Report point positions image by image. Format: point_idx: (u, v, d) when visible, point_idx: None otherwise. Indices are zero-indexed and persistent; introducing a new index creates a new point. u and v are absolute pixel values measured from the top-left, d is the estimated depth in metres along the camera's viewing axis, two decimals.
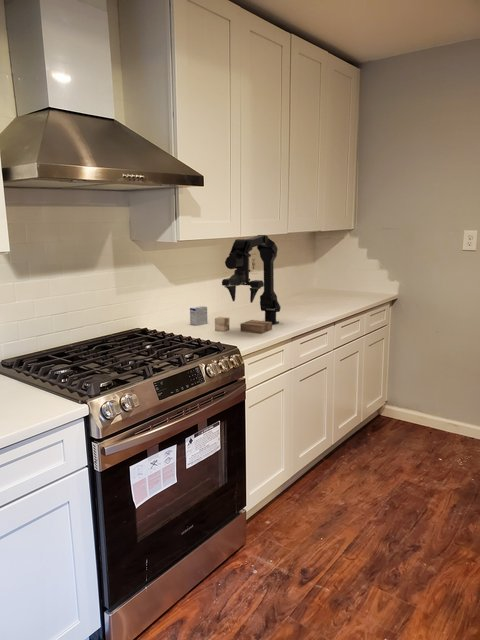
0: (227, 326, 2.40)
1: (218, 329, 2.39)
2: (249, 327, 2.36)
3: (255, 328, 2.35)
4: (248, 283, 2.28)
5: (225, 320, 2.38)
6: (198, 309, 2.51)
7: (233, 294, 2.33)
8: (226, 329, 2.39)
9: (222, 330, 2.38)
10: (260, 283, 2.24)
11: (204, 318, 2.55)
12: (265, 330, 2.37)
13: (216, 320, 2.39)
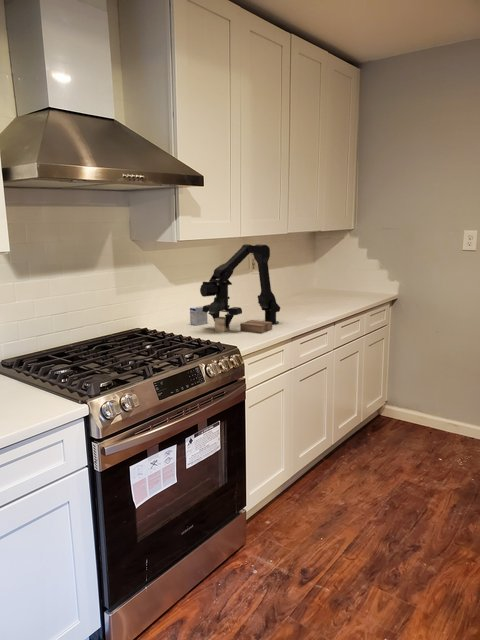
0: None
1: (218, 329, 2.39)
2: (249, 327, 2.36)
3: (255, 328, 2.35)
4: (227, 310, 2.37)
5: (225, 320, 2.38)
6: (198, 309, 2.51)
7: None
8: (226, 329, 2.39)
9: (222, 330, 2.38)
10: (238, 310, 2.34)
11: (204, 318, 2.55)
12: (265, 330, 2.37)
13: (216, 320, 2.39)
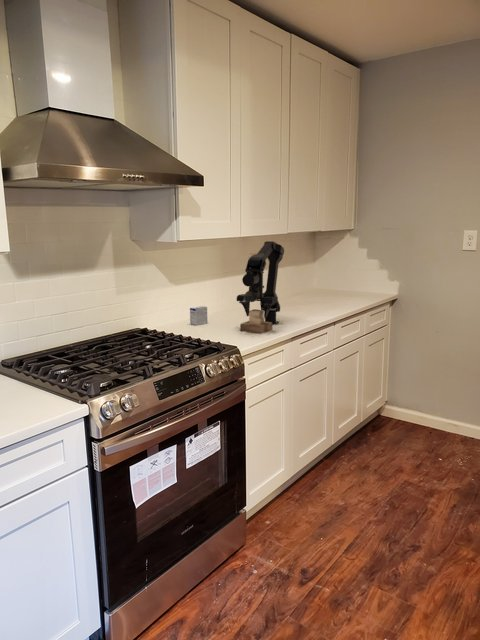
0: (261, 318, 2.39)
1: (253, 321, 2.38)
2: (249, 327, 2.36)
3: (255, 328, 2.35)
4: (262, 299, 2.36)
5: (260, 312, 2.37)
6: (198, 309, 2.51)
7: (247, 309, 2.41)
8: (260, 321, 2.39)
9: (257, 322, 2.37)
10: (273, 299, 2.33)
11: (204, 318, 2.55)
12: (265, 330, 2.37)
13: (251, 312, 2.38)
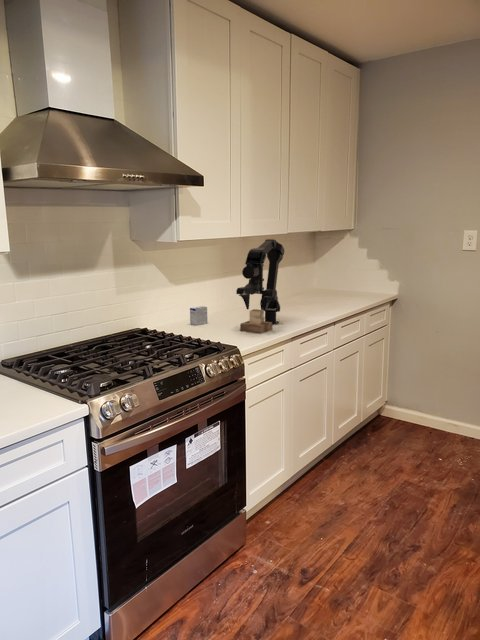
0: (262, 318, 2.39)
1: (253, 321, 2.38)
2: (249, 327, 2.36)
3: (255, 328, 2.35)
4: (262, 292, 2.35)
5: (260, 312, 2.37)
6: (198, 309, 2.51)
7: (247, 302, 2.41)
8: (261, 321, 2.38)
9: (257, 322, 2.37)
10: (273, 292, 2.32)
11: (204, 318, 2.55)
12: (265, 330, 2.37)
13: (251, 312, 2.38)
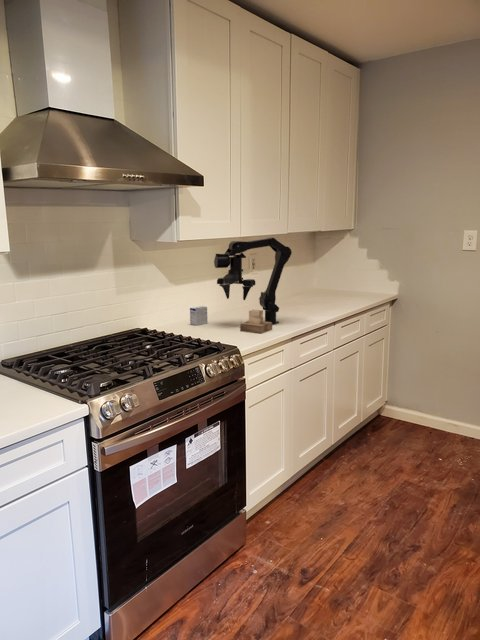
0: (261, 318, 2.40)
1: (252, 321, 2.38)
2: (249, 327, 2.36)
3: (255, 328, 2.35)
4: (241, 282, 2.46)
5: (259, 312, 2.37)
6: (198, 309, 2.51)
7: (227, 292, 2.51)
8: (260, 321, 2.39)
9: (257, 322, 2.37)
10: (252, 282, 2.43)
11: (204, 318, 2.55)
12: (265, 330, 2.37)
13: (250, 312, 2.38)
